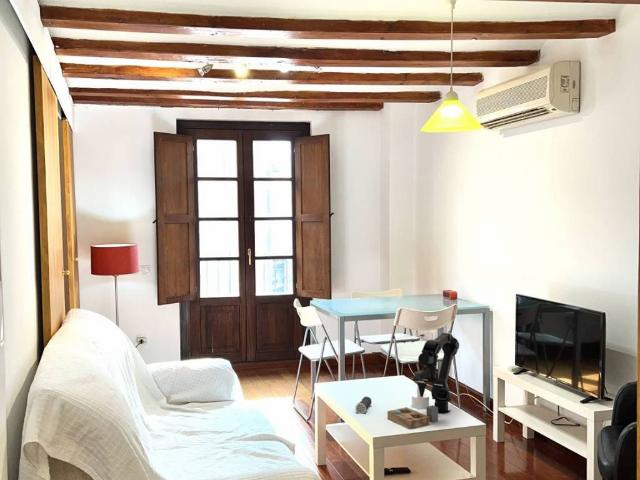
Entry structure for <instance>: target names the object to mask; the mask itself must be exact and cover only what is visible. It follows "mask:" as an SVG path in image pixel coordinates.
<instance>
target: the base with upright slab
mask: <svg viewBox="0 0 640 480" xmlns="http://www.w3.org/2000/svg"><path fill="white" fill-rule="evenodd" d="M416 387H417V388H416V393H412V394H411V407H412V408H413V409H414V410H415V409H417V410H426V407H427V406H430V395H429V394H427V393H424V395H423V397H420V392H419V388H418V385H417V384H416Z"/></svg>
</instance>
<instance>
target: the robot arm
mask: <svg viewBox="0 0 640 480" xmlns="http://www.w3.org/2000/svg"><path fill="white" fill-rule="evenodd" d="M459 348H460V342H459V341H458V339H457V338H456V337H454V336H453V335H452V333H450V332H449V333H448V332H442V333H441V334H440V335H438V336H437V337H436V338H434V339H427V340H426V341H425V343H424V344H423V346H422V349H421V353H420V354H419V355H418V357H417V360H418V363H419V364H420V365H423V367H422V368H421V369H422V370H418V371H415V372H413V373H414V375H413V378H412V380H413V381H414V383H415V384H416V386H417V385H418V388H419V392H420V397H423V395H424V394H425V391H426V388H427V384H428V383H431V384H430V385H431V391H430V393H431V394H430V395H431V399H432V400H434V405H433V406H436V407H438V414H446V413H449V412H451V410H449V402H451V399H452V395H451V393H450V390H449V389H450V388H449V385H448V380H449V377H450V376H449V375H450V370H451V367H452V361H453V358H454V357H455V356H456V355H457V353H458V351H459ZM441 351H442V352H443V358H442V360H441V365H440V368H439V369H440V370H439V369H438V368H437V366H438V358H439V353H440V352H441ZM437 372H439V374H438V377H436V375H437Z"/></svg>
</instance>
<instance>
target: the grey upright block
mask: <svg viewBox="0 0 640 480" xmlns="http://www.w3.org/2000/svg"><path fill="white" fill-rule="evenodd" d="M425 410H426V414H425V415H427V416H429V417H430V424H432V423H437V422H439V413H438V407H436V406H434V405H433V404H432V405H429V406H427V407H426V409H425Z"/></svg>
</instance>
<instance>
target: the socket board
mask: <svg viewBox="0 0 640 480" xmlns="http://www.w3.org/2000/svg"><path fill="white" fill-rule="evenodd" d="M387 420H389V421H391V422H394V423H396V424H398V425H399V426H402V427H404V428H406V429H409V430H414V429H418V428H423V427H426V426H430V425H431V422H430V417H429V416H427V415H426V414H424V413H422V412H419V411H416V410H415V409H412V408H409V407H400V408H395V409H390V410H387Z"/></svg>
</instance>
